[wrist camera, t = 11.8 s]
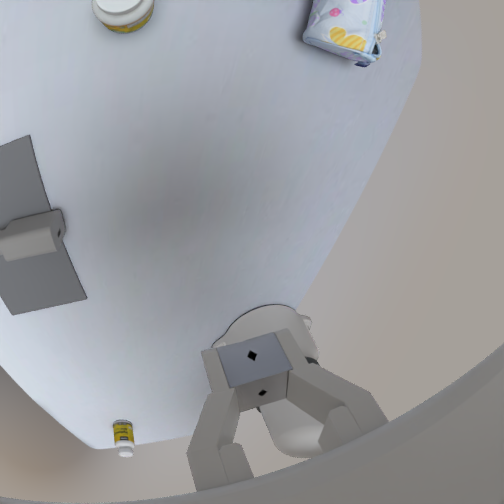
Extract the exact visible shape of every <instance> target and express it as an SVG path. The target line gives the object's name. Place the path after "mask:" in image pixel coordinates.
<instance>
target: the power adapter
mask: <svg viewBox="0 0 504 504" xmlns="http://www.w3.org/2000/svg"><path fill="white" fill-rule="evenodd" d="M64 234H65V224H64V221H63V217H62V214H61V211H60V210H55V211H50V212H46V213H42V214H37V215H33V216H29V217H25V218H21V219H17V220H13V221H10V223H9V224H8V226H7V227H6V229H5V230H1V231H0V255H3V256H4V258H5V260H6V261H12V260H17V259H22V258H27V257H31V256H36V255H41V254H46V253H51V252H56V251H59V248H60V245H61V242H62V240H63V237H64Z"/></svg>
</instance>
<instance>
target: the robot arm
mask: <svg viewBox="0 0 504 504" xmlns="http://www.w3.org/2000/svg"><path fill="white" fill-rule="evenodd" d="M311 324H312V321H311V319H310V318H309V317H308V316H303V315H299V314H298V313H297V312H296V311H295V310H293V309H292V308H290V307H287V306H283V305H269V306H264V307H260V308H257V309H255V310H252V311H250V312H248V313H247V314H245V315H243V316H242V317H240V318H239V319H238V320H237V321H235V322H234V323H233V324H232V326H231V327H230V328H229V330H228V331H227V333H226V334H225V335H224V336H223V337H222V338H220V339H219V340H218V341H216V342H215V343H214V344H213V346H212V348H213V349H209V350H204V351H201V354H202V358H203V362H204V365H205V369H206V372H207V376H208V379H209V383H210V386H211V389H212V393H210V394H208V396H207V399H206V402H205V404H204V407H203V410H202V412H201V415H200V418H199V421H198V423H197V426H196V429H195V431H194V434H193V437H192V440H191V442H190V445H189V447H188V450H187V457H188V461H189V465H190V469H191V472H192V476H193V480H194V483H195V487H196V490H197V492H194V493H188V494H182V495H176V496H170V497H164V498H156V499H148V500H138V501H127V502H111V503H55V502H54V503H53V502H40V501H29V500H19V499H13V498H6V497H0V504H504V343H503V344H502V345H501V346H500V347H499V348H497V349H496V350H495V351H494V352H493V353H491V354H490V355H489V356H488V357H486V358H485V359H484V360H483V361H481V362H480V363H479V364H478V365H476V366H475V367H474V368H472V369H471V370H470V371H468V372H467V373H466V374H464V375H463V376H462V377H460V378H459V379H457V380H456V381H455V382H453V383H452V384H451V385H449V386H447V387H446V388H444V389H443V390H441V391H440V392H438V393H437V394H435V395H434V396H432V397H431V398H429V399H428V400H426V401H424V402H423V403H421V404H420V405H418V406H416V407H415V408H413V409H411V410H410V411H408V412H406V413H405V414H403V415H401V416H399V417H398V418H396V419H394V420H392V421H390V422H389V421H388V420H387V418H386V416H385V415H384V413H383V412H382V410H381V409H380V407H379V405H378V404H377V402H376V401H375V399H374V398H373V396H372V395H371V393H370V392H369V391H367V390H365V389H363V388H361V387H359V386H357V385H355V384H353V383H351V382H349V381H347V380H345V379H343V378H341V377H339V376H337V375H335V374H333V373H331V372H329V371H327V370H325V369H324V368H322V367H320V365H319V364H318V362H317V359H318V356H319V354H320V352H319V349H318V347H317V345H316V343H315V341H314V339H313V337H312V335H311V333H310V331H309V330H310V327H311ZM253 408H257V410H258V411H259V412H260V413H262V416H263V418H264V421H265V423H266V426H267V428H268V430H269V433H270V435H271V438H272V440H273V442H274V445H275V446H276V447H277V449H278V450H280V451H281V452H282V453H284V454H286V455H289V456H292V457H297V458H311V459H308V460H306V461H303V462H301V463H298V464H295V465H292V466H290V467H287V468H284V469H281V470H278V471H275V472H272V473H269V474H265V475H262V476H259V477H255V478H254V476H253V473H252V471H251V468H250V466H249V463H248V461H247V458H246V456H245V453H244V450H243V448H242V445H240V444H238V443H233V439H234V435H235V432H236V428H237V424H238V420H239V416H240V412H243V411H246V410H250V409H253Z"/></svg>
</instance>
